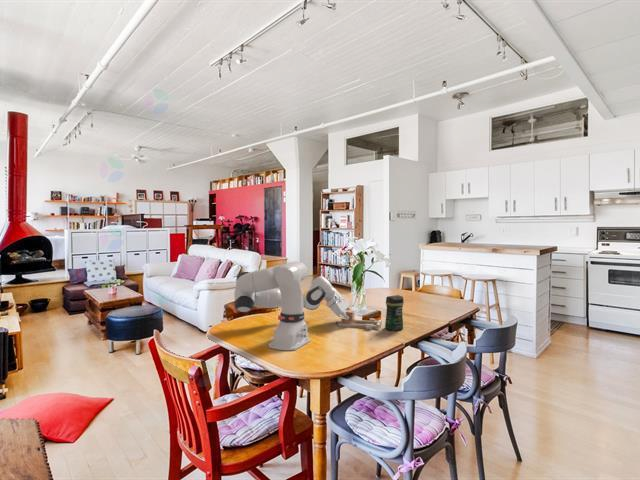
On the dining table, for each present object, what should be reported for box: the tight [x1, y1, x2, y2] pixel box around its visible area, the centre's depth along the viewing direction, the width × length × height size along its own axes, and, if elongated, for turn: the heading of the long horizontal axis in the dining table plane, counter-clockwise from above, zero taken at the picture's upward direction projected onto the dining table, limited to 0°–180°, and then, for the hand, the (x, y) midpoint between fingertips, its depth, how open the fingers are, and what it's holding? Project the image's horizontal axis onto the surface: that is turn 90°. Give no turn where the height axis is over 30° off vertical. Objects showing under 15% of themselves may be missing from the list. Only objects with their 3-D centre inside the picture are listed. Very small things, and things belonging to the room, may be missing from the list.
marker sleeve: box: [345, 309, 355, 323], centre depth 206 cm, size 5×4×8 cm
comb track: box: [337, 317, 383, 331], centre depth 204 cm, size 14×24×3 cm, turn 72°
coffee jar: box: [384, 294, 405, 332], centre depth 199 cm, size 10×8×19 cm
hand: (350, 316), depth 206 cm, fingers open, 8 cm apart
